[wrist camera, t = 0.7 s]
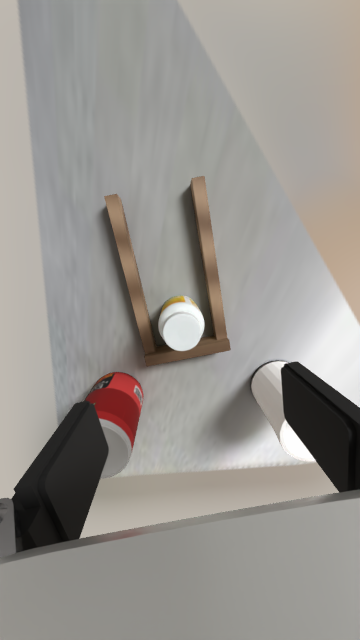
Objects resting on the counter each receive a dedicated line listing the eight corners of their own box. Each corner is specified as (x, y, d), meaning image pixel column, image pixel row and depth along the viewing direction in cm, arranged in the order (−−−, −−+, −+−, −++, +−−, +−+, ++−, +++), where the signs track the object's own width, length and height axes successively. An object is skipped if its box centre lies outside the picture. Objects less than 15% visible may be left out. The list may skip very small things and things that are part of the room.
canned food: (107, 362, 31) (74, 410, 21) (153, 384, 32) (143, 441, 22) (87, 399, 33) (46, 463, 22) (131, 419, 34) (112, 488, 23)
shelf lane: (109, 201, 26) (101, 193, 23) (201, 182, 25) (205, 171, 23) (149, 357, 31) (146, 366, 28) (225, 342, 31) (230, 350, 28)
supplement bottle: (203, 302, 29) (217, 318, 20) (189, 334, 31) (197, 364, 21) (168, 289, 29) (166, 299, 19) (156, 323, 30) (149, 348, 21)
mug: (240, 400, 34) (269, 455, 24) (257, 352, 32) (296, 391, 22) (300, 410, 35) (351, 468, 25) (320, 365, 33) (384, 407, 23)
